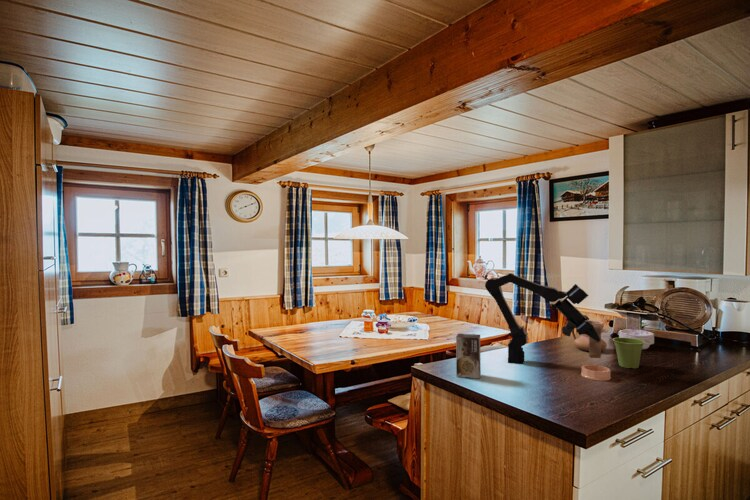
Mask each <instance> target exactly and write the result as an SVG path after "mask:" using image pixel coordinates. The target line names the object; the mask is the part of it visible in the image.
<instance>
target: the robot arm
mask: <svg viewBox="0 0 750 500" xmlns="http://www.w3.org/2000/svg"><path fill="white" fill-rule="evenodd" d="M507 284H514V285H516V286H519V287H521V288H523V289H525V290H528V291H530V292H531V293H532V292H533V293H535V294H537V295H538V296H539V297H541V298H543V299H545V300H546V301H548V302H549V303H551V305H550V306H551V311H552V312H553V311H555V310H558V312H560V313H561V315H562V316H564V317H565V320H566V323H565V325H564V326H562V328H561V334H563V335H564V336H567V337H569V338H570V336H572V334H571V332H572V330H573V328H575V331H576V333H577V334H578V335H579V336H581V334H587V335H588V336H590V337H591V338H593V339H594V340H596V341H598V342H599V341H600V339H599V337H598V335H597V333H596V331H595V329H594V326H593V324H592V322H591V321H592V320H590V317H589V316H587V315H586V314H585V315H584V314H583V313H582V312H580V310H579V309H578V308H577V307H576V306H575V304H577V305H579V304H580V303H581V302H583V301H584V300H586V298H588V297H589V294H588V293H587V292H586V291H585V290H584V289H582V288H581V287H579V285H577V284H576V283H575V284H574V285H572V287H571V288H569V290H567V291H564V290H563V291H562V290H558V289H557V288H556V287H552V286H548V285H543V284H538V283H536V282H534V281H531V280H529V279H526V278H525V277H524V278H523V277H521V276H518V275H515V274H514V273H513V272H512V273H510V272H509V273H507V274H505V275H503V276H501V277H498V278H496V277H495V278H494V277H491V278H489V279H487V280H486V281H485V285H484V287H485V289H486V290H487V292H488V293H489V295H490V296H491V297H492V298H493V299H494V300H495V303H496V304H497V306H498V308H499V310H500V312H501V314H502V316H503V318H504V319H505V321H506V324H507V325H508V327H509V332H510V335H511V339H510V340H509V342H508V344H507V350H508V351H507V363H508V364H509V363H510V364H521V365H522V364H523V365H524V362H525V351H524V348H523V346H526V344H527V343H528V342H527V341H528V335H529V333H528V332H527V331H526V328H525V326H524V325H522V326H521V325H520V324H519V323H518V321H517V319H516V318H515V315H514V313H513V312H512V310H511V308H510V306H509V304H508V301H507V300H506V298H505V296H504V293H503V290H502V286H504V285H507ZM561 299H562V300H561ZM588 320H590V321H588Z"/></svg>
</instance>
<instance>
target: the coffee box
mask: <svg viewBox="0 0 750 500" xmlns="http://www.w3.org/2000/svg"><path fill="white" fill-rule="evenodd" d="M455 348H456V349H455V351H456V353H455V354H456V355H455V356H456V358H455V362H456V363H455V364H456V367H455V368H456V375H455V376H460V377H459V378H465V377H471V378H470V379H476V378H479V379H480V378H481V370H482V369H481V334H474V333H457V335H456V336H455Z"/></svg>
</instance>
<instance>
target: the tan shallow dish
mask: <svg viewBox="0 0 750 500" xmlns="http://www.w3.org/2000/svg"><path fill="white" fill-rule="evenodd" d="M580 375H581V377H582V378H585V379H588V380H592V381H601V382H604V381H606V382H607V381H610V380H611V378H612V377H611V369H610V368H609V367H606V366H602V365H598V364H583V365H582V366H581V372H580Z"/></svg>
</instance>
